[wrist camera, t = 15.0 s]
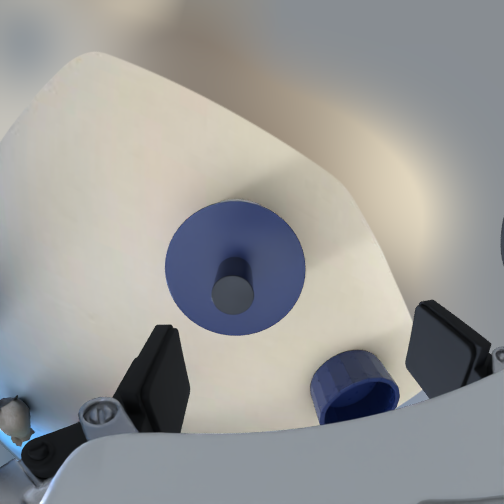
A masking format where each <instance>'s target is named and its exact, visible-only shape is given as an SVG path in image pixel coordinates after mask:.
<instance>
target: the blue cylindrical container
mask: <svg viewBox="0 0 504 504" xmlns="http://www.w3.org/2000/svg"><path fill="white" fill-rule="evenodd" d="M310 391H311V397H312V400H313V403H314V407H315V410H316V413H317V417H318V420H319V423H320V425H326V424H332V423H337V422H343V421H348V420H353V419H358V418H363V417H367V416H372V415H376V414H380V413H384V412H388V411H392V410H395V408H396V407H397V404H398V401H399V398H400V394H399V388H398V386H397V384H396V383H395V381H394V380H393V379H392V377H391V376H390V374H389V373H388V371H387V370H386V369H385V367H384V366H383V364H382V363H381V362H380V360H379V359H378V358H377V357H376V356H375V355H374V354H372V353H370V352H368V351H364V350H351V351H346V352H343V353H340V354H338V355H336V356H334V357H332V358H330V359H329V360H327V361H326V362H325V363H324V364H323V365H322V366H321V367H320V368H319V369H318V370H317V371H316V373H315V374H314V376H313V378H312V381H311V385H310Z"/></svg>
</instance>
